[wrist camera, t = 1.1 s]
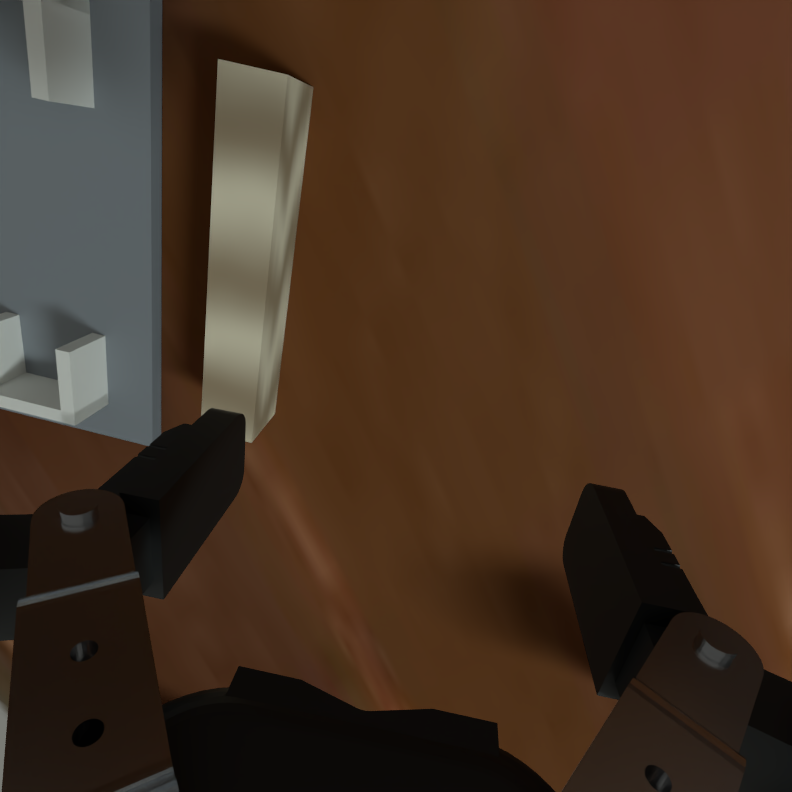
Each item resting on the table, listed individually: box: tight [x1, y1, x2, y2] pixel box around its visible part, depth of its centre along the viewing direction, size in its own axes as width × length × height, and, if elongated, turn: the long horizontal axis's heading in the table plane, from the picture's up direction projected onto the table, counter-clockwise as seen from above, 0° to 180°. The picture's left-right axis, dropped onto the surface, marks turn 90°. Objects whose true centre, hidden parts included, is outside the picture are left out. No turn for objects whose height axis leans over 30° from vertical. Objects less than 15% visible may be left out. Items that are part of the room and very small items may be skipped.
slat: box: [201, 59, 313, 443], centre depth 27 cm, size 18×3×4 cm, turn 168°
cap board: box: [0, 0, 162, 446], centre depth 27 cm, size 26×12×4 cm, turn 168°
